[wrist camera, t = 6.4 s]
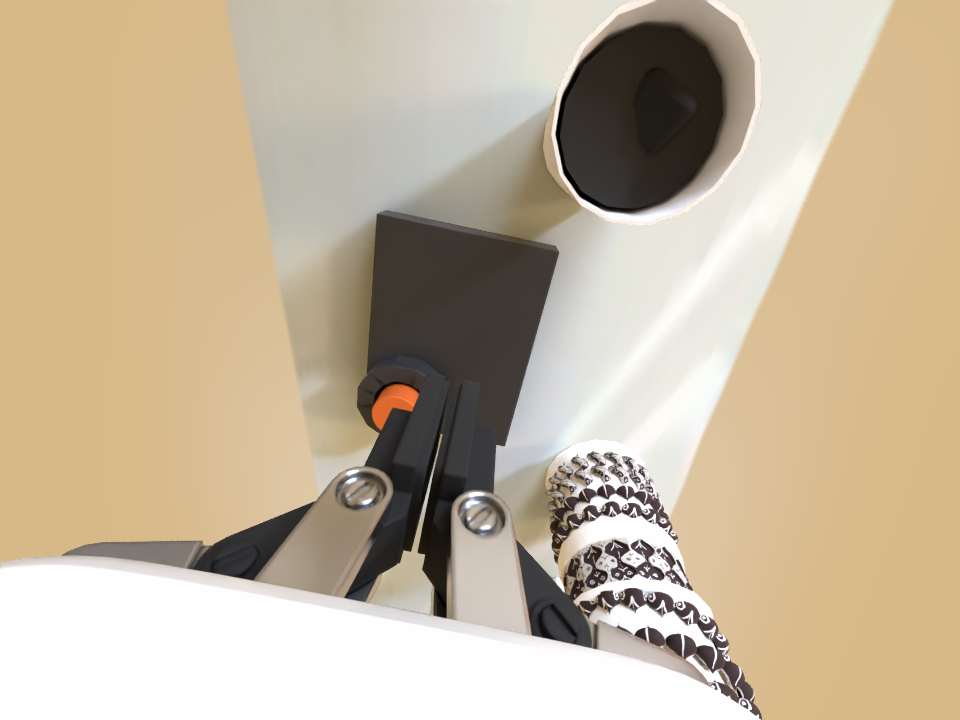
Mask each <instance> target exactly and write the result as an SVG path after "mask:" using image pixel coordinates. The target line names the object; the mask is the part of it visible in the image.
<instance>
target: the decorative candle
mask: <svg viewBox="0 0 960 720" xmlns="http://www.w3.org/2000/svg"><path fill="white" fill-rule="evenodd" d="M545 484H546V487H547V491H546V495H547V496H550V498H551V500H552V501H550V502H549V503H548V506H547V509H548V511H550V512H553V516H551V517H550V522H551V524H550V530H551V532H552V533H553V536H552V540H553V542H552V549H553V551H554V552H555V554H554V559H555V562H556V563H557V564H558V566H559V574H560V580H561V582H562V585H563V587H564V590H565V591H564V592H565V594H566V595H567V596H568V597H569V598H570V599H571V600H572V601H573V602H574V603H575V604H576V606H577V607H578V608H579V609H580V611H581V612H582V614H583V615H584V616H585V618H586V619H587V620H589V621H591V622H593V623H595V624H596V622H597V620H601V621H603V622H605V623H607V624H610V625H612V626H614V627H616V628H619V629H621V630H623V631H625V632H627V633H630V634H632V635H634V636H636V637H639V638H641V639H643V640H645V641H647V642H650V643H652V644H654V645H656V646H659V647H661V648H663V649H665V650H668V651H670V652H672V653H674V654H676V655H679V656H681V657H683V658H684V659H686V660H687V661H689V662H690V663H692V664H693V665H694V666H695V667H696V668H697V669H698V670H699V671H700V672H701V673H702V674H703V675H704V676H705V678H706V679H707V681H708V682H709V684H710V686H711V687H712V688H713V689H715V690H717V691H718V692H720V693H722V694H723V695H725V696H727V697H728V698H730V699H731V700H733V701H735V702H736V703H738V704H739V705H741V706H742V707H744V708H746V709H747V710H748V711H750V712H751V713H752V714H754V715H755V716H756V717H758V718H759V719H760V720H763V719H762V716H761V713H760V711H759V709H758V708H757V706H756V705H755V704H754V703H753V702H754V698H755V696H754V691H753V689H752V688H751V686H750V685H749V684H748V683H747V682H745V678H744V674H743V672H742V670H741V669H740V667H738V666H737V665H736V664H734V663H732V662H731V659H730V658H729V656H728V655H727V653H728V651H729V643H728V640H727V639H726V637H725V636H724V635H723V634H721V633H719V630H718V626H717V624H716V623H715V621H714V620H713V615H712V612H711V610H710V608H709V607H708V606H707V605H706V604H705V603H704V602H703V601H702V599H701V598H700V597H699V596H698V595H697V594H696V593H695V592H693V589H692V587H691V585H690V582H689V580H688V579H687V578H686V574H685V568H684V563H683V559H682V557H681V555H680V552H679V550H678V548H677V545H676V544H677V542H678V537H677V535H676V533H675V532H674V531H672V525H671V523H670V522H669V517H668V515H667V514H666V513H664V512H663V511H664V508H663V505H662V504H661V498H660V496H659V494H658V493H657V492H656V488H655V486H654V483H653V481H652V479H651V478H650V477H649V473H648V471H647V470H646V468H645V464H644V462H643V461H642V460H641V459H640V458H639V456H638V455H637V454H636V453H635V452H634V451H633V450H632V449H630V448H628V447H626V446H623V445H621V444H619V443H617V442H612V441H601V440H592V441H588V442H583V443H579V444H574V445H573V446H571V447H569V448H568V449H566V450H564V451H563V452H561V453H559V454H558V455H557V456H556V458H555V459H554V460H553V461H552V463H551V464H550V465H549V467H548V470H547V475H546V481H545ZM713 643H714V645H713ZM714 646H715V647H714ZM729 681H730V682H729ZM730 683H731V684H732V686H733V688H734V690H735V689H736V690H737V693H738V696H739V697H738V696H737V694H736V693H735V692H734V691H733V689H732V687H731V685H730Z"/></svg>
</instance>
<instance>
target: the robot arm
mask: <svg viewBox="0 0 960 720" xmlns="http://www.w3.org/2000/svg"><path fill="white" fill-rule="evenodd" d="M444 379H445V376H443V375H439V374H434V373H429V372H428V373H427V375H426V377H425V380H424V382H423V385H422V387H421V390H420V393H419V395H418V398H417V400H416V403H415V405H414V408H413V410H412V411H408V410H403V409H398V408H392V410H391V411H390V413H389V415H388V418H387V420H386V422H385V424H384V426H383V428H382V430H381V432H380V434H379V436H378V438H377V440H376V442H375V445H374V447H373V449H372V451H371V453H370V455H369V457H368V459H367V461H366V463H365V465H364V467H354V468H350V469H347V470H345V471H343V472H341V473H339V474H338V475H337V476H336V477H335V478H334V479H333V480H332V481H331V483H330V484H329V485H328V486H327V488H326V489H325V490H324V491H323V493H322V494H321V495H320V496H319V498H318V499H317V500H316V501H315V502H312V503H310V504H307V505H305V506H302V507H300V508H298V509H295V510H292V511H290V512H288V513H285V514H283V515H280V516H278V517H275V518H273V519H270V520H268V521H265V522H263V523H260V524H258V525H256V526H253V527H251V528H248V529H246V530H243V531H241V532H238V533H236V534H234V535H231V536H229V537H226V538H225V539H223V540H221V541H219V542H217V543H215V544H214V545H213V546H203V541H152V542H101V543H94V544H88V545H84V546H81V547H78V548H76V549H73V550H70V551H68V552H66V553H65V554H63V555H61V556H46V557H33V558H25V559H19V560H11V561H4V562H0V720H760V719H759V718H758V717H756V716H755V715H754V714H752V713H751V712H750V711H748V710H747V709H746V708H744V707H742V706H741V705H739V704H738V703H736V702H735V701H733V700H731V699H730V698H728V697H727V696H725V695H723V694H722V693H720V692H718V691H717V690H715V689H713V688H712V687H711V686H710V684H709V682H708V681H707V679H706V678H705V676H704V675H703V674H702V673H701V672H700V671H699V670H698V669H697V668H696V667H695V666H694V665H693V664H692V663H690V662H689V661H687V660H686V659H684V658H683V657H681V656H679V655H676V654H674V653H672V652H670V651H668V650H665V649H663V648H661V647H659V646H656V645H654V644H652V643H650V642H647V641H645V640H643V639H641V638H639V637H636V636H634V635H632V634H630V633H627V632H625V631H623V630H621V629H619V628H616V627H614V626H612V625H610V624H607V623H605V622H603V621H601V620H597V622H596V624H595V623H593V622H591V621H589V620H587V619H586V618H585V616H584V615H583V614H582V612H581V611H580V609H579V608H578V607H577V606H576V604H575V603H574V602H573V601H572V600H571V599H570V598H569V597H568V596H567V595H566V594H565V592H564V591H563V590H562V589H561V588H560V587H559V586H558V585H557V584H556V583H555V581H554V580H553V579H552V578H551V577H550V576H549V575H548V574H547V573H546V572H545V570H544V569H543V568H542V567H541V566H540V565H539V564H538V563H537V562H536V561H535V560H534V558H533V557H532V556H531V555H530V554H529V553H528V552H527V551H526V550H525V549H524V547H523V546H522V545H521V544H520V543H519V542H518V541H517V540H516V538H515V532H514V527H513V521H512V516H511V513H510V510H509V508H508V506H507V505H506V504H505V502H504V501H503V500H502V499H500V498H499V497H498V496H496V495H494V494H493V490H494V472H495V454H496V437H497V430H496V429H492V428H487V427H483V426H478V425H475V420H476V412H477V405H478V398H479V391H480V383H476V382H471V381H466V380H464V381H463V384H459V383H456V385H455V389H454V393H453V397H452V401H451V405H450V409H449V413H448V417H447V421H446V425H445V429H444V433H443V437H442V441H441V445H440V449H439V453H438V457H437V460H436V465H435V469H434V473H433V478H432V483H431V488H430V493H429V498H428V503H427V508H426V513H425V518H424V523H423V528H422V533H421V538H420V543H419V548H418V553H420V554H425V559H424V564H423V569H422V570H423V571H424V573H425V574H426V576H427V577H428V579H429V580H430V582H431V583H432V585H433V586H432V591H431V612H430V615H427V614H422V613H417V612H412V611H407V610H401V609H396V608H391V607H386V606H381V605H376V604H371V603H370V601H371V599H372V597H373V595H374V593H375V591H376V589H377V587H378V585H379V583H380V579H381V576H382V573H384V572H385V571H387V570H389V569H390V568H392V567H394V566H395V565H397V563H400V561H401V557H402V554H403V550H405V551H410V552H411V550H412V546H413V542H414V539H415V535H416V531H417V527H418V523H419V519H420V515H421V511H422V507H423V504H424V500H425V496H426V492H427V488H428V484H429V480H430V476H431V472H432V469H433V465H434V461H435V457H436V453H437V448H438V443H439V438H440V433H441V428H442V423H443V418H444V413H445V408H446V403H447V398H448V393H449V388H450V382H449V381H445V380H444Z"/></svg>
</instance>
